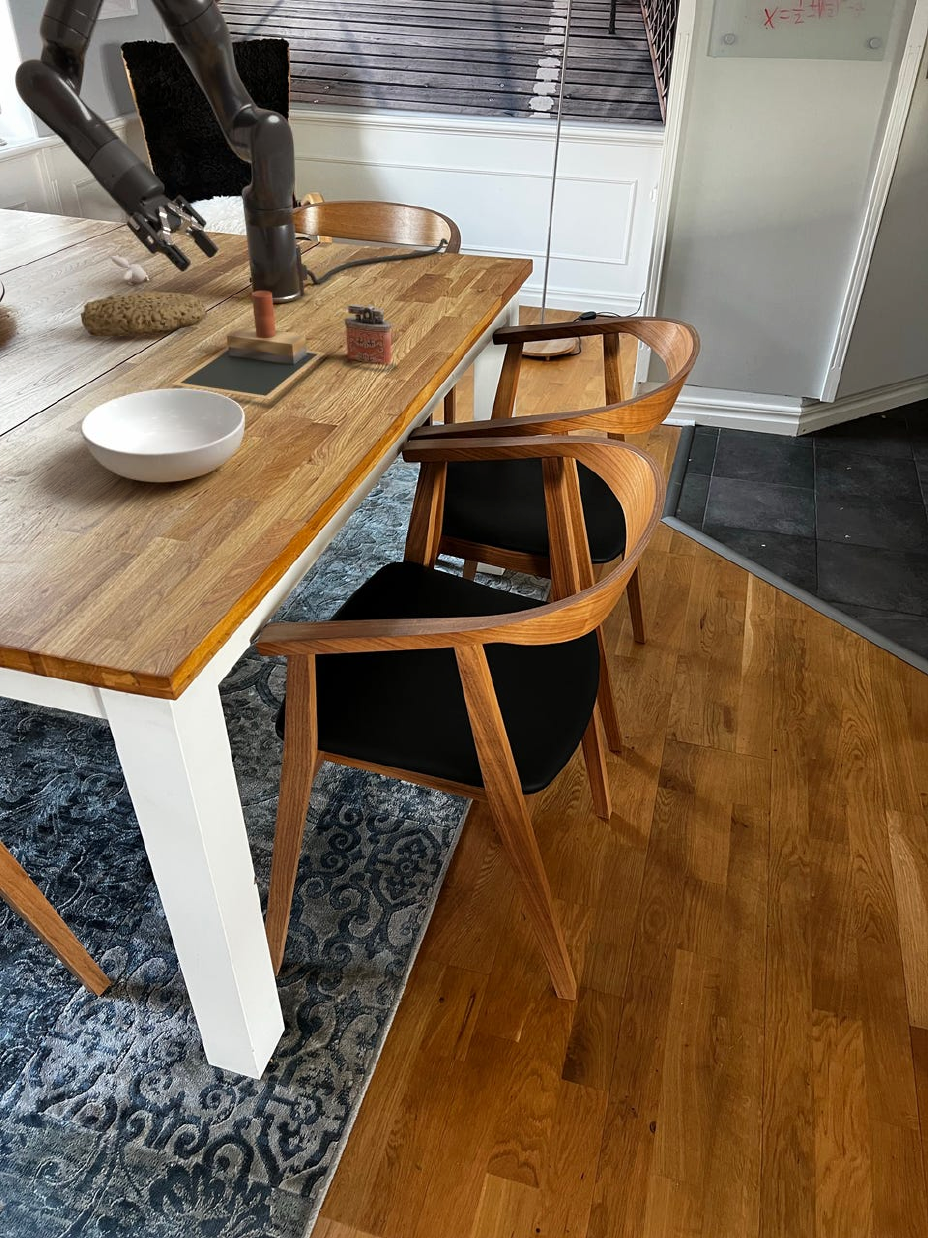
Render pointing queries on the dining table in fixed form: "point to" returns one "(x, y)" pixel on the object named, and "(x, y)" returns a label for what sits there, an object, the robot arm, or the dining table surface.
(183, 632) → the dining table surface
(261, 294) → the eraser
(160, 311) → the sponge
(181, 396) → the serving bowl
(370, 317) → the lighter
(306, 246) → the dining table surface
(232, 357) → the board
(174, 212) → the robot arm
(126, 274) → the rabbit figurine
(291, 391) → the dining table surface
